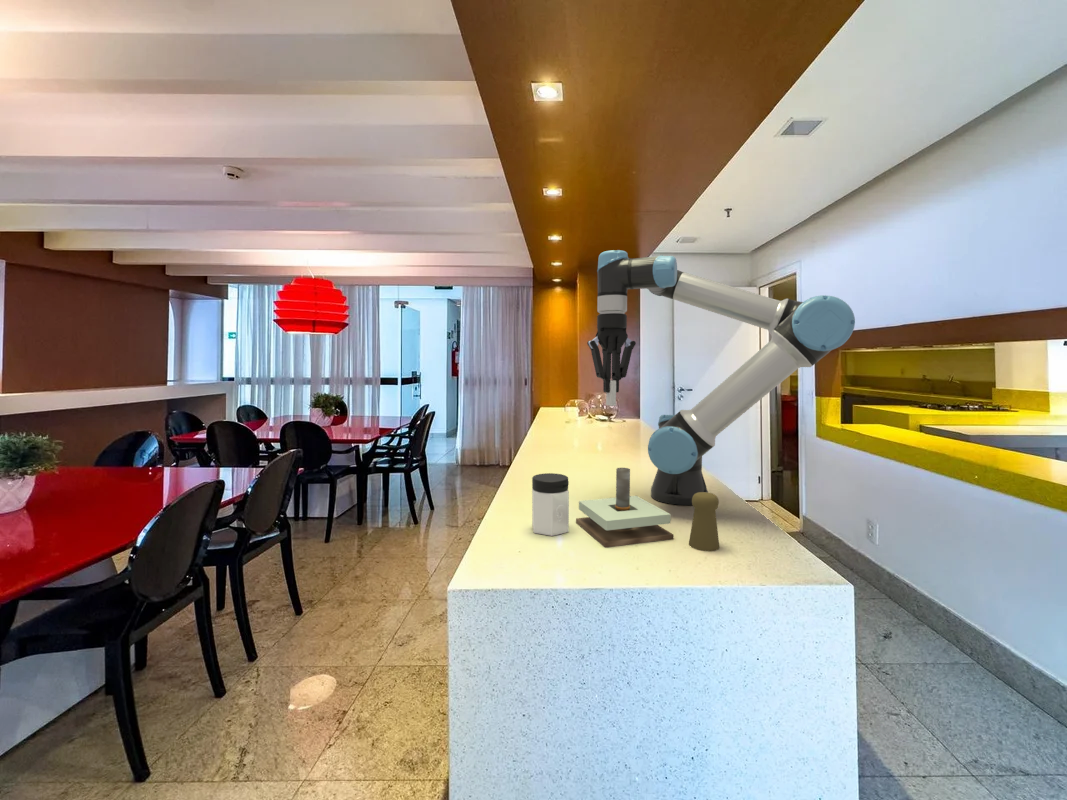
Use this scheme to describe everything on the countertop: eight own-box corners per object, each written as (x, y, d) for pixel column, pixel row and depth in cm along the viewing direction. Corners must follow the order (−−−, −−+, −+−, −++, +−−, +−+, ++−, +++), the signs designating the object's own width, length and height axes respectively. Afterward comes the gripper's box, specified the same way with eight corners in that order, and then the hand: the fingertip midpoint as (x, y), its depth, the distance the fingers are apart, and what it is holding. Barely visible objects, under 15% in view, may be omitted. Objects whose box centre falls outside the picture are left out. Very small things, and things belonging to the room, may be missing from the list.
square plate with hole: (636, 503, 120) (636, 495, 120) (670, 523, 106) (670, 514, 105) (578, 509, 116) (578, 500, 115) (606, 530, 101) (606, 520, 101)
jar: (544, 538, 106) (544, 483, 105) (523, 528, 113) (523, 476, 112) (577, 530, 111) (577, 478, 110) (555, 520, 117) (555, 471, 116)
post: (636, 516, 121) (637, 459, 120) (673, 539, 105) (674, 474, 104) (575, 522, 116) (576, 464, 115) (605, 547, 101) (605, 480, 100)
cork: (682, 542, 103) (683, 491, 103) (704, 538, 106) (706, 488, 105) (702, 553, 98) (704, 498, 97) (726, 548, 100) (727, 495, 99)
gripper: (628, 315, 132) (626, 403, 134) (582, 314, 128) (582, 404, 130) (642, 313, 125) (640, 405, 127) (594, 311, 121) (593, 407, 123)
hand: (610, 405), depth 128 cm, fingers closed
